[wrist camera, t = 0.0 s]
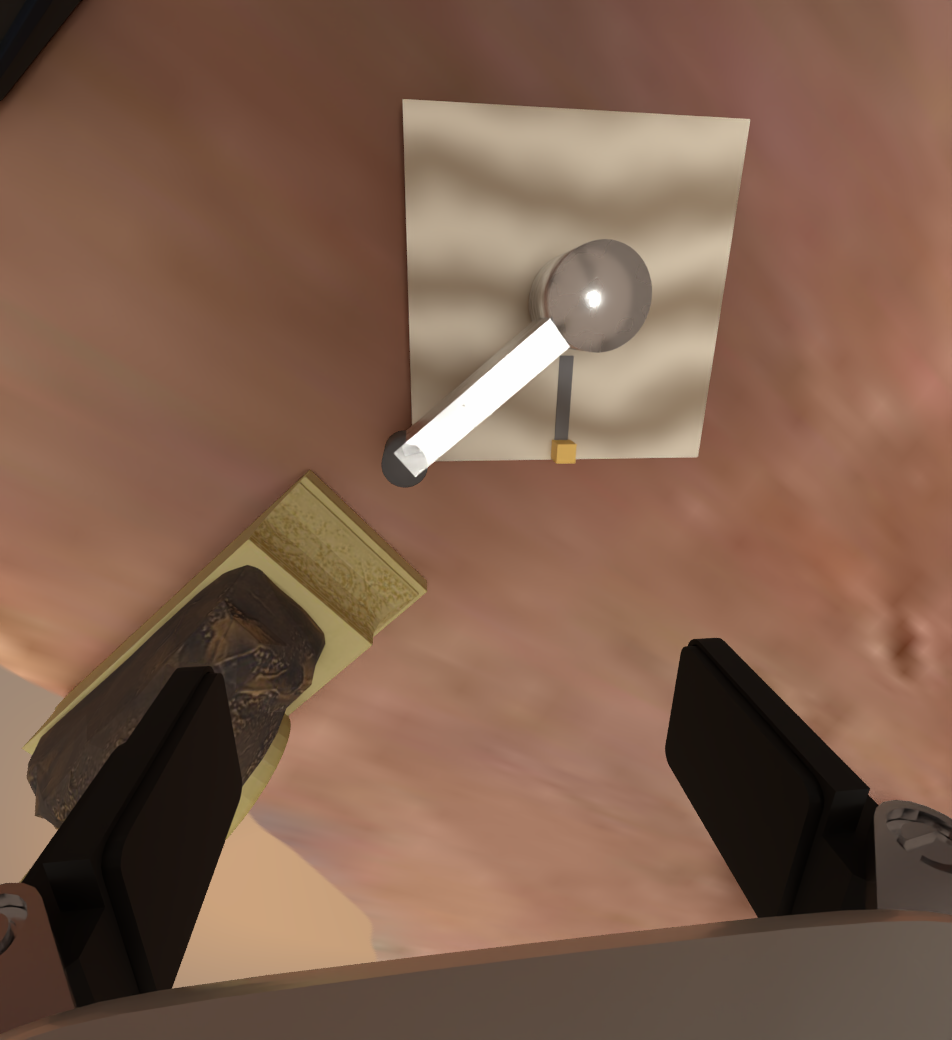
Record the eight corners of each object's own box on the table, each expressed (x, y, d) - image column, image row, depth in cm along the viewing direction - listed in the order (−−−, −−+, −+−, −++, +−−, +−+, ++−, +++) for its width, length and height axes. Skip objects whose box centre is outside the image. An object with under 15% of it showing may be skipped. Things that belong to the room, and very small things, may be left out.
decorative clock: (197, 774, 48) (-96, 1388, 20) (69, 692, 44) (-519, 1324, 16) (426, 580, 44) (451, 1013, 16) (310, 469, 40) (79, 798, 12)
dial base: (403, 108, 33) (402, 87, 30) (737, 127, 36) (766, 109, 33) (413, 456, 41) (413, 467, 38) (688, 452, 43) (709, 462, 40)
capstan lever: (582, 231, 35) (615, 214, 29) (631, 308, 37) (671, 305, 31) (361, 425, 37) (353, 443, 32) (418, 487, 39) (419, 514, 34)
